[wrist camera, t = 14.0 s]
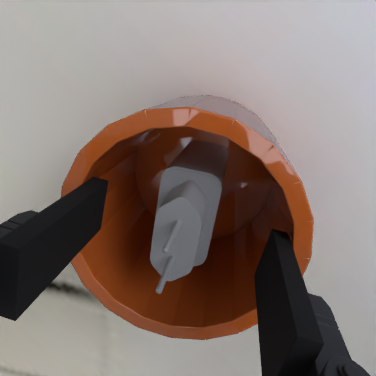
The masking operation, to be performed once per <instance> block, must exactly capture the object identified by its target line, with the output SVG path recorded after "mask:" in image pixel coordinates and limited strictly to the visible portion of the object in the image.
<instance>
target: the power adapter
mask: <svg viewBox="0 0 376 376" xmlns="http://www.w3.org/2000/svg"><path fill="white" fill-rule="evenodd" d="M228 156H229V155H228V151H227V149H226V148H225V147H223V146H222V145H218V144H213V143H208V142H203V141H198V140H195V141H192V142H190V143H189V144H188V145H187V146H186V147H185V148H184V149H183V150H182V152H181V153H180V154H179V155H178V156H177V157H176V158H175V160H174V161H173V162H172V163H171V164H170V165H169V166H168V167H167V169H166V170H165V171H164V172H163V174H162V177H161V182H160V189H159V195H158V202H157V209H156V216H155V223H154V229H153V236H152V244H151V252H150V261H151V264H152V266H153V267H154V268H155V269H156V270H157V271H158V273H159V274H160V275H161V278H160V281H159V283H158V286H157V288H156V292H157V293H158V294H160V293H162V290H163V288H164V285H165V283H166V281H173V280H176V279H178V278H180V277H183V276H185V275H187V274H189V273H190V272H191V270H192V268H193V266H198V265H201V264H202V263H204V261H205V260H206V258H207V254H208V250H209V245H210V241H211V236H212V232H213V227H214V223H215V218H216V214H217V209H218V205H219V200H220V196H221V191H222V187H223V182H224V177H225V172H226V167H227V162H228Z"/></svg>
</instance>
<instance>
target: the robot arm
mask: <svg viewBox="0 0 376 376" xmlns="http://www.w3.org/2000/svg"><path fill="white" fill-rule="evenodd" d="M108 182H109V181H108V180H105V179H101V178H98V177H92V178H91V179H89V180H88V181H86V182H85V183H83V184H82V185H80V186H79V187H77V188H76V189H74V190H73V191H71V192H70V193H68V194H67V195H65V196H64V197H62V198H61V199H59V200H58V201H56V202H55V203H53V204H51V205H50V206H48V207H47V208H45V209H44V210H42V211H41V212H39V213H38V212H35V211H31V210H30V211H27V212H23V213H20V214H17V215H15V216H14V217H12V218H10V219H9V220H8V221H5V222H4V223H2V224H0V316H2V317H5V318H8V319H11V320H14V321H16V320H17V319H18V318H19V316H20V315H21V314H22V313H23V312H24V311H25V310H26V309H27V308H28V307H29V306H30V305H31V304H32V303H33V301H34V300H35V299H36V298H37V297H38V296H39V295H40V294H41V293H42V292H43V291H44V290H45V289H46V287H47V286H48V285H49V284H50V283H51V282H52V281H53V280H54V279H55V278H56V277H57V276H58V275H59V273H60V272H61V271H62V270H63V269H64V268H65V267H66V266H67V265H68V264H69V263H70V262H71V261H72V260H73V258H74V257H75V256H76V255H77V254H78V253H79V252H80V251H81V250H82V249H83V248H84V247H85V246H86V244H87V243H88V242H89V241H90V240H91V239H92V238H93V237H94V236H95V235H96V234H97V233H98V232H99V230H100V229H101V225H102V219H103V213H104V206H105V200H106V194H107V188H108ZM254 282H255V294H256V306H257V318H258V331H259V343H260V355H261V367H262V376H370V375H369V374H368V373H367V372H366V371H365V370H364V369H363V368H362V367H361V366H360V365H358V364H357V363H356V362H354V361H352V360H351V357H350V355H349V352H348V350H347V347H346V345H345V342H344V340H343V338H342V335H341V333H340V330H338V325H337V323H336V321H335V318H334V315H333V313H332V311H331V308H330V307H329V306H328V304H327V303H326V302H325V301H324V300H323V299H322V297H319V296H316V295H313V294H309V293H308V292H307V289H306V286H305V283H304V280H303V277H302V274H301V271H300V268H299V265H298V262H297V259H296V256H295V253H294V250H293V247H292V244H291V241H290V237H289V234H288V233H286V232H283V231H280V230H276V229H273V228H272V230H271V233H270V235H269V238H268V240H267V243H266V246H265V248H264V251H263V253H262V256H261V258H260V261H259V264H258V266H257V269H256V271H255V274H254Z"/></svg>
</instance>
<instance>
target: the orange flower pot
mask: <svg viewBox="0 0 376 376" xmlns="http://www.w3.org/2000/svg"><path fill="white" fill-rule="evenodd" d="M195 140H198V141H203V142H208V143H213V144H218V145H222V146H223V147H225V148H226V149H227V151H228V155H229V156H228V162H227V167H226V172H225V177H224V182H223V187H222V191H221V196H220V200H219V205H218V209H217V214H216V218H215V223H214V227H213V232H212V236H211V241H210V245H209V250H208V254H207V258H206V260H205V261H204V263H202V264H201V265H198V266H193V268H192V270H191V272H190V273H189V274H187V275H185V276H183V277H180V278H178V279H176V280H173V281H166V283H165V285H164V288H163V290H162V293H160V294H158V293H157V292H156V288H157V286H158V283H159V281H160V278H161V275H160V274H159V273H158V271H157V270H156V269H155V268H154V267H153V266H152V264H151V261H150V252H151V244H152V236H153V229H154V223H155V216H156V209H157V202H158V195H159V189H160V182H161V177H162V174H163V172H164V171H165V170H166V169H167V167H168V166H169V165H170V164H171V163H172V162H173V161H174V160H175V158H176V157H177V156H178V155H179V154H180V153H181V152H182V150H183V149H184V148H185V147H186V146H187V145H188V144H189V143H190V142H192V141H195ZM92 177H98V178H101V179H105V180H108V181H109V182H108V188H107V194H106V200H105V206H104V213H103V219H102V225H101V229H100V230H99V232H98V233H97V234H96V235H95V236H94V237H93V238H92V239H91V240H90V241H89V242H88V243H87V244H86V246H85V247H84V248H83V249H82V250H81V251H80V252H79V253H78V254H77V255H76V256H75V257H74V258H73V260H72V261H71V264H72V265H73V267H74V269H75V271H76V272H77V274H78V276H79V278H80V280H81V281H82V283H83V285H84V286H85V287H86V288H87V289H88V290H89V291H90V292H91V293H92V294H93V295H94V296H95V297H96V298H97V299H98V300H99V301H100V302H101V303H102V304H103V305H104V306H105V307H106V308H108V310H110V311H111V312H113V313H115V314H116V315H118V316H120V317H121V318H123V319H125V320H126V321H128V322H129V323H131V324H133V325H134V326H136V327H138V328H141V329H145V330H148V331H151V332H154V333H157V334H160V335H163V336H167V337H171V338H182V339H198V340H205V339H206V340H207V339H212V338H217V337H222V336H227V335H232V334H238V333H239V332H242V331H244V330H246V329H248V328H250V327H252V326H254V325H256V324H258V318H257V306H256V294H255V282H254V274H255V271H256V269H257V266H258V264H259V261H260V258H261V256H262V253H263V251H264V248H265V246H266V243H267V240H268V238H269V235H270V233H271V230H272V228H273V229H276V230H280V231H283V232H286V233H288V234H289V237H290V241H291V244H292V247H293V250H294V253H295V256H296V259H297V262H298V265H299V268H300V271H301V274H302V277H303V274H304V272H305V270H306V268H307V266H308V264H309V261H310V258H311V254H312V239H313V223H314V221H313V216H312V213H311V209H310V206H309V203H308V200H307V197H306V193H305V190H304V187H303V184H302V181H301V179H300V177H299V176H298V174H297V173H296V171H295V169H294V168H293V166H292V164H291V163H290V161H289V160H288V158H287V156H286V155H285V153H284V152H283V150H282V148H281V147H280V145H279V143H278V142H277V140H276V139H275V137H274V136H273V135H272V133H271V132H270V131H269V129H268V128H267V127H266V125H265V124H264V123H263V121H262V120H261V119H260V118H259V117H258V116H257V115H255V114H254V113H253V112H251V111H250V110H248V109H247V108H245V107H244V106H242V105H240V104H239V103H236V102H234V101H231V100H228V99H225V98H220V97H215V96H210V95H205V96H203V95H202V96H190V97H182V98H179V99H176V100H173V101H169V102H166V103H163V104H160V105H157V106H154V107H151V108H148V109H144V110H142V111H140V112H137V113H135V114H133V115H130V116H128V117H125V118H123V119H121V120H118V121H116V122H114V123H111V124H109V125H107V126H106V127H105V128H104V129H103V130H101V131H100V132H99V133H98V134H97V135H96V136H95V137H94V138H93V139H92V140H91V141H90V142H89V143H88V144H87V145H86V146H84V147H83V148H82V149H81V150H80V152H79V153H78V154H77V156H76V158H75V160H74V162H73V165H72V167H71V169H70V171H69V173H68V175H67V177H66V179H65V181H64V183H63V186H62V192H61V198H62V197H64V196H65V195H67V194H68V193H70V192H71V191H73V190H74V189H76V188H77V187H79V186H80V185H82V184H83V183H85V182H86V181H88V180H89V179H91V178H92Z"/></svg>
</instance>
